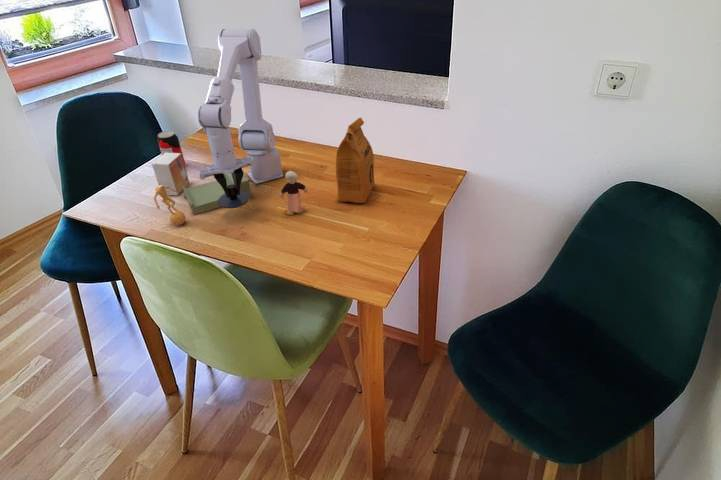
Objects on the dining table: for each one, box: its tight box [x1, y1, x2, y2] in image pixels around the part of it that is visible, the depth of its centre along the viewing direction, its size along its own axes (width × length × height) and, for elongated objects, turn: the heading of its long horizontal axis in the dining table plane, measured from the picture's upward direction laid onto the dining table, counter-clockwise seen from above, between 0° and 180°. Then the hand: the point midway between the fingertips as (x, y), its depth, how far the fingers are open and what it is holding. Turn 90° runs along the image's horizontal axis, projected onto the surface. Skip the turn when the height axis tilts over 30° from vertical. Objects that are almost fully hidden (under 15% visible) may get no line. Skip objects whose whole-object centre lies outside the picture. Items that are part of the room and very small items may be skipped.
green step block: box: [182, 173, 253, 215], centre depth 142 cm, size 17×12×6 cm
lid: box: [218, 185, 250, 209], centre depth 131 cm, size 8×8×4 cm
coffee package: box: [335, 117, 375, 204], centre depth 135 cm, size 10×12×22 cm
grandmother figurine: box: [279, 170, 308, 216], centre depth 132 cm, size 8×4×13 cm, turn 117°
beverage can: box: [157, 130, 186, 165], centre depth 157 cm, size 6×6×12 cm
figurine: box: [153, 185, 186, 226], centre depth 129 cm, size 8×6×12 cm
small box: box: [151, 152, 190, 196], centre depth 145 cm, size 8×6×10 cm
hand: (232, 194), depth 131 cm, fingers closed on lid, 2 cm apart
